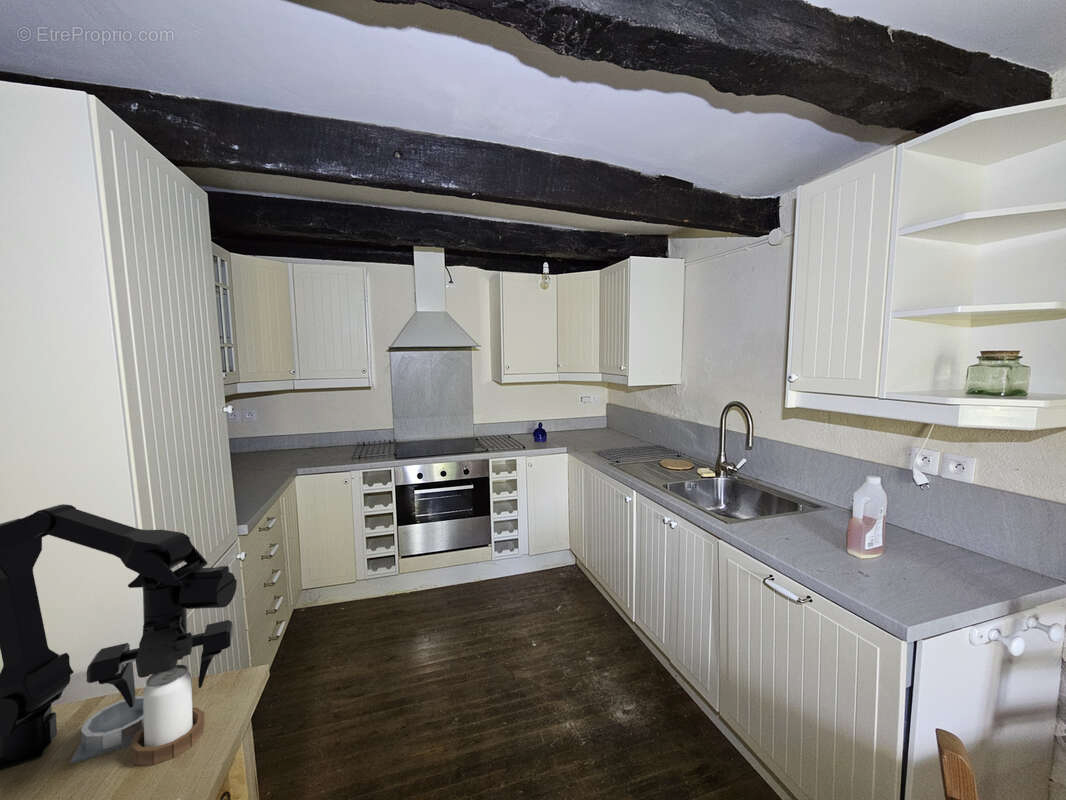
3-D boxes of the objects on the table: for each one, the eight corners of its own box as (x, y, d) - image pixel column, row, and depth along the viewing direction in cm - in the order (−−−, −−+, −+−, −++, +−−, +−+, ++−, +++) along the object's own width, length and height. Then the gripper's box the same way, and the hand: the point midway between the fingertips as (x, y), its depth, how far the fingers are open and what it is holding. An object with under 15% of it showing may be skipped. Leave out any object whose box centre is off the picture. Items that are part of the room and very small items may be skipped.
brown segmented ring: (124, 775, 69) (123, 760, 69) (140, 733, 77) (140, 720, 77) (199, 749, 74) (199, 735, 74) (207, 712, 82) (206, 700, 82)
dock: (70, 764, 71) (70, 746, 71) (92, 723, 79) (92, 707, 79) (150, 738, 76) (149, 722, 76) (163, 702, 85) (162, 688, 84)
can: (135, 761, 71) (133, 690, 71) (158, 731, 78) (156, 666, 77) (181, 752, 73) (179, 683, 73) (199, 723, 79) (198, 660, 79)
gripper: (71, 649, 63) (74, 753, 63) (226, 615, 73) (228, 705, 73) (97, 615, 72) (100, 705, 73) (232, 588, 82) (233, 668, 83)
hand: (167, 695), depth 75 cm, fingers open, 9 cm apart
